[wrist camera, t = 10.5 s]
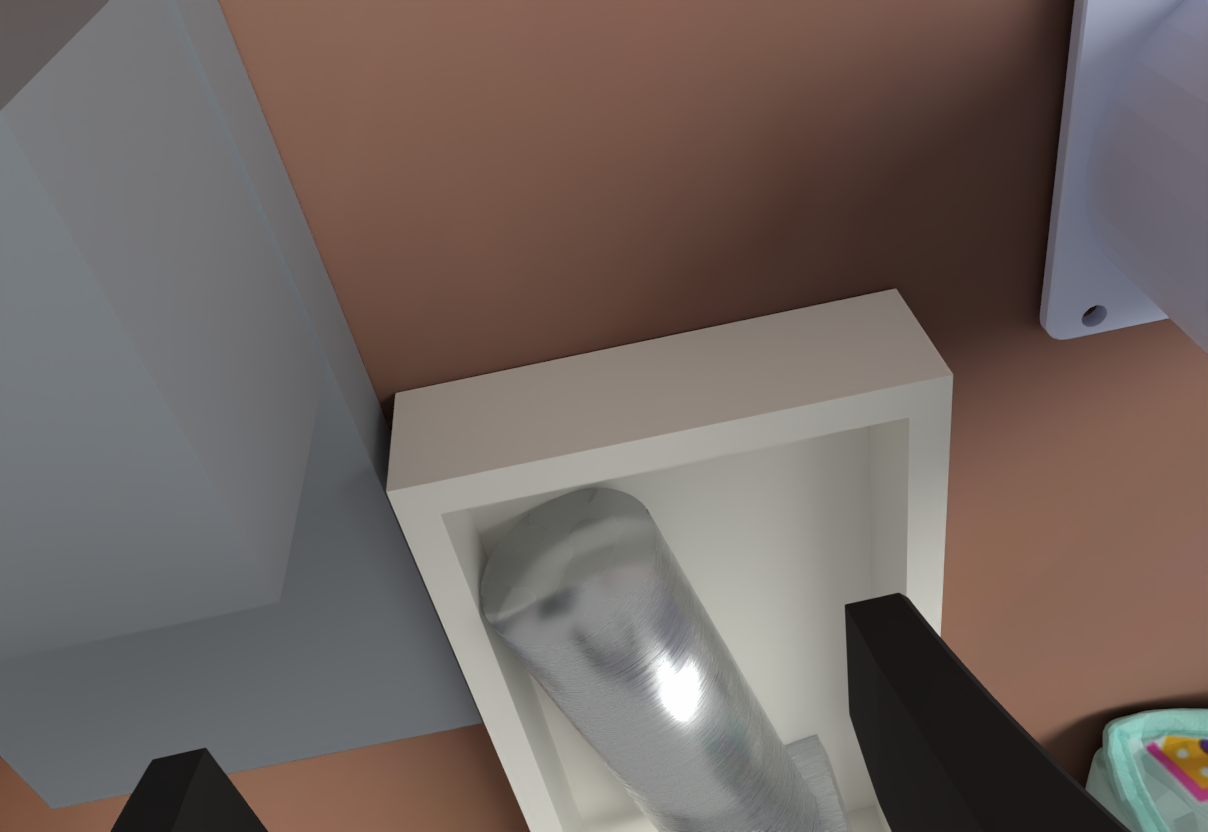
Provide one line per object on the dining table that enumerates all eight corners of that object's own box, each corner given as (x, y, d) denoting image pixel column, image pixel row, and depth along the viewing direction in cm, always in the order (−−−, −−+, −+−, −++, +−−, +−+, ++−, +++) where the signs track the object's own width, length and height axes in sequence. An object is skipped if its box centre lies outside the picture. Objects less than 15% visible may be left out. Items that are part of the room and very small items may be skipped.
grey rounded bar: (455, 538, 23) (454, 681, 20) (666, 453, 22) (700, 588, 19) (666, 809, 31) (689, 943, 28) (828, 755, 30) (870, 886, 27)
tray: (896, 288, 21) (953, 374, 18) (893, 797, 33) (927, 890, 30) (395, 393, 21) (386, 491, 19) (575, 860, 33) (584, 957, 31)
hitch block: (-500, 78, 16) (-1101, 350, 10) (187, -74, 15) (10, 108, 9) (76, 740, 27) (-37, 1058, 21) (481, 658, 26) (486, 956, 20)
